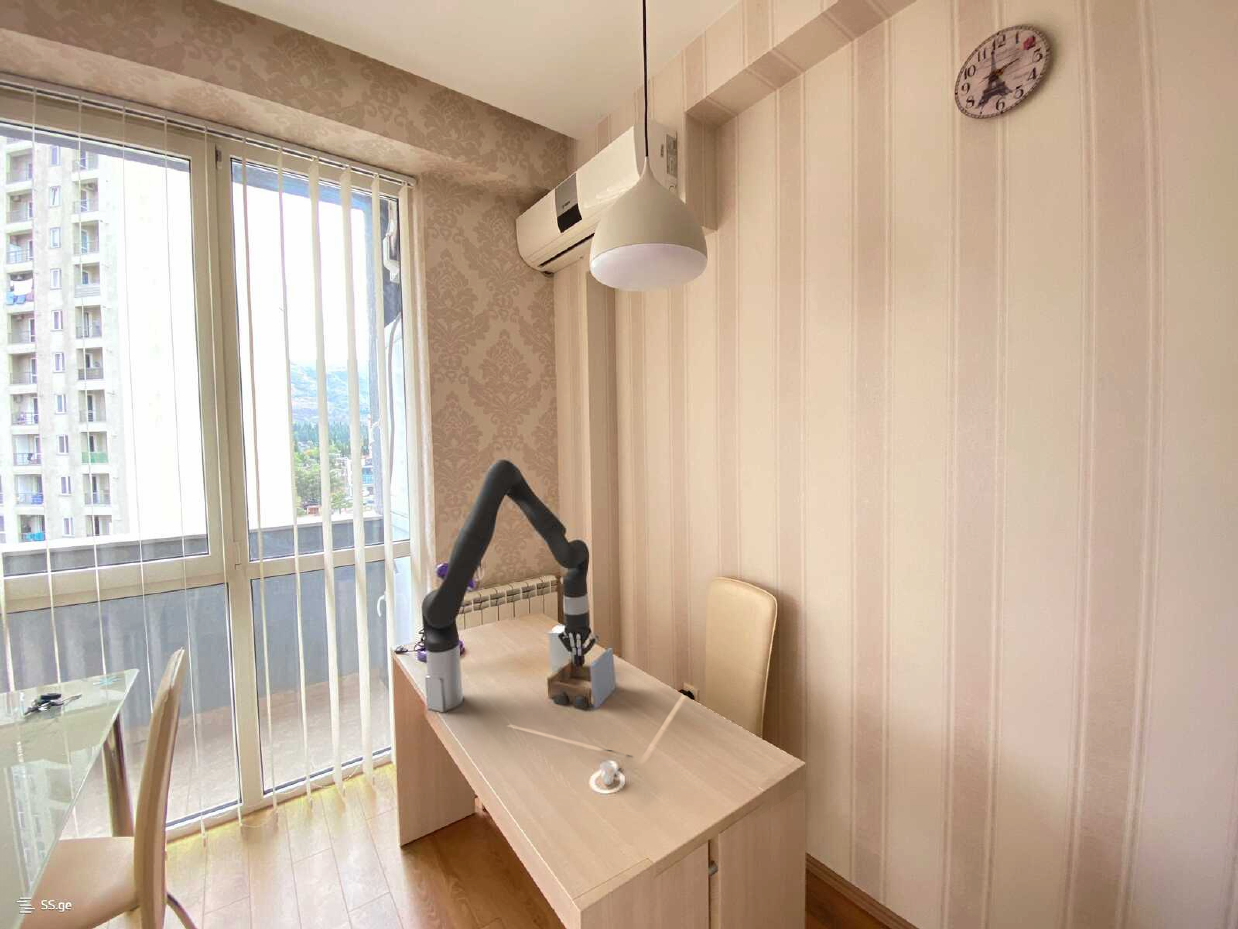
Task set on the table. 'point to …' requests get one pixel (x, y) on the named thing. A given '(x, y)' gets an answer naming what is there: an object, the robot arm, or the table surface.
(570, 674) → the wooden toy cart
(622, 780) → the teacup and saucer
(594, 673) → the tailgate
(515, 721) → the table surface
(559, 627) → the skincare box
